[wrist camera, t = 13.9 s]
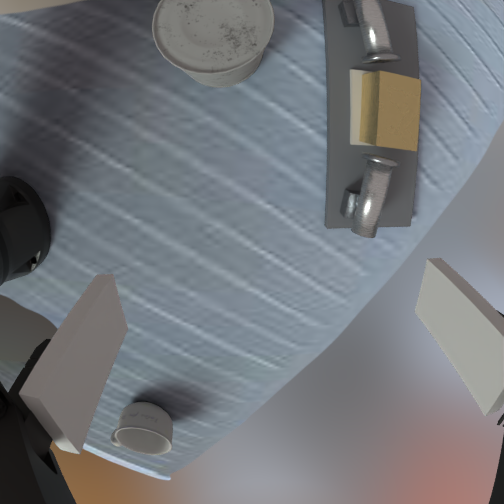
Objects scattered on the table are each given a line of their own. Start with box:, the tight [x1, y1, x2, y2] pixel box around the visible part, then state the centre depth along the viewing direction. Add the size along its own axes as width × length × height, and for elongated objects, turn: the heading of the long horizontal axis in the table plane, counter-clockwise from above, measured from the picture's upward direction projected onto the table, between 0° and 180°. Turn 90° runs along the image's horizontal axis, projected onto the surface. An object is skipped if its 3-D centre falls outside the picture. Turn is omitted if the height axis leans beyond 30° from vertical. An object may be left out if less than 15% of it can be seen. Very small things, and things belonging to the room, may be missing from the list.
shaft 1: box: [338, 0, 401, 64], centre depth 26 cm, size 9×4×6 cm, turn 12°
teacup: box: [111, 402, 173, 455], centre depth 51 cm, size 14×11×8 cm
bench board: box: [322, 0, 419, 229], centre depth 33 cm, size 12×30×1 cm, turn 2°
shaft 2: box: [340, 152, 400, 238], centre depth 34 cm, size 9×4×6 cm, turn 172°
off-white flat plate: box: [350, 69, 375, 146], centre depth 32 cm, size 7×9×1 cm
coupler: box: [359, 71, 421, 151], centre depth 30 cm, size 8×5×5 cm, turn 179°
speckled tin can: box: [152, 0, 275, 88], centre depth 25 cm, size 10×10×12 cm
